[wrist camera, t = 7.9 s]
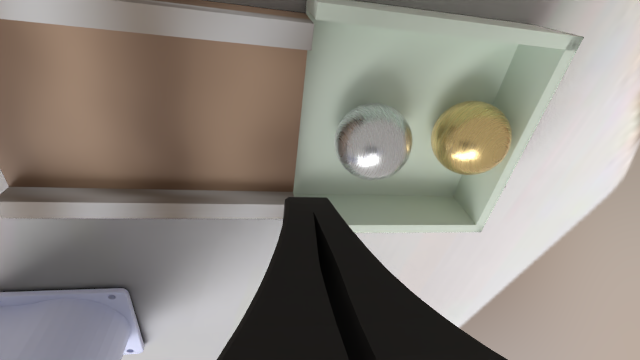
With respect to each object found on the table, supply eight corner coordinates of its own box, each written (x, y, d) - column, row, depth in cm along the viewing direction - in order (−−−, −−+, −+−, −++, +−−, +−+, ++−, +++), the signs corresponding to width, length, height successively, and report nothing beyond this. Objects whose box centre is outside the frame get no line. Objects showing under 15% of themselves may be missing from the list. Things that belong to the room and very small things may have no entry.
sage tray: (288, 196, 21) (292, 233, 18) (307, -7, 15) (317, 2, 12) (454, 199, 24) (480, 232, 21) (530, 24, 17) (583, 37, 14)
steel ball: (375, 140, 20) (317, 151, 19) (396, 84, 17) (329, 91, 16) (410, 187, 18) (348, 203, 17) (441, 131, 15) (369, 144, 14)
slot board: (38, 180, 18) (1, 218, 16) (-48, -31, 13) (-129, -29, 10) (289, 186, 21) (293, 218, 18) (305, 13, 15) (314, 24, 13)
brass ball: (408, 158, 19) (460, 193, 16) (427, 91, 17) (491, 117, 14) (454, 152, 21) (509, 183, 18) (477, 91, 19) (542, 113, 16)
